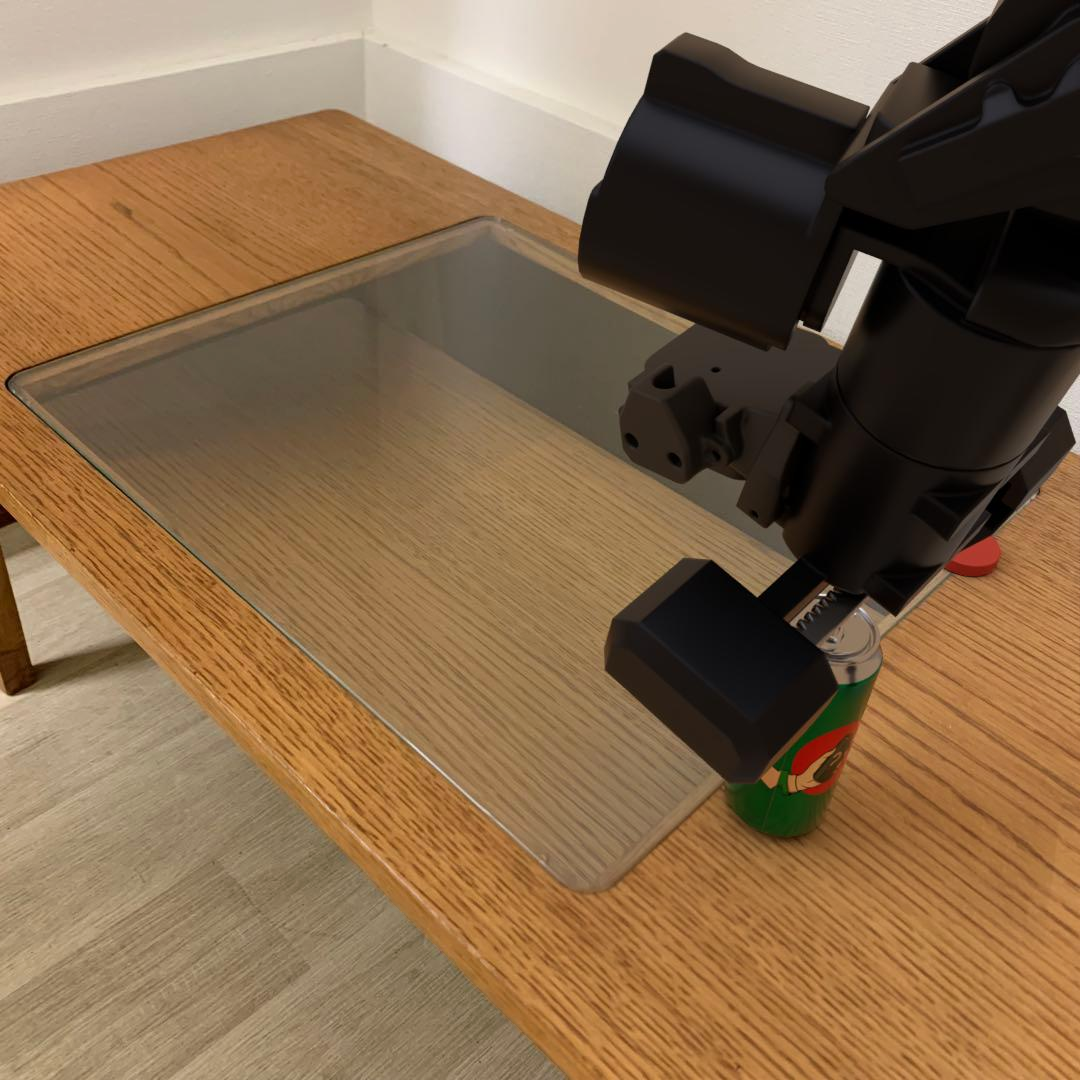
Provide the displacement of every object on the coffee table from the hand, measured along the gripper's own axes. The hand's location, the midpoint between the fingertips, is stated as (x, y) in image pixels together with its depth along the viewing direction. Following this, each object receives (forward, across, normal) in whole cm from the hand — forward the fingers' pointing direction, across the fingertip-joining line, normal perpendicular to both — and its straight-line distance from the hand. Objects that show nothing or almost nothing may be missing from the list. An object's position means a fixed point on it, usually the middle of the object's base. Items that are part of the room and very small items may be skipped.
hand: (786, 657), depth 44 cm
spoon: (+20, -31, -2) cm, 37 cm away
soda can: (+14, -2, +2) cm, 14 cm away
